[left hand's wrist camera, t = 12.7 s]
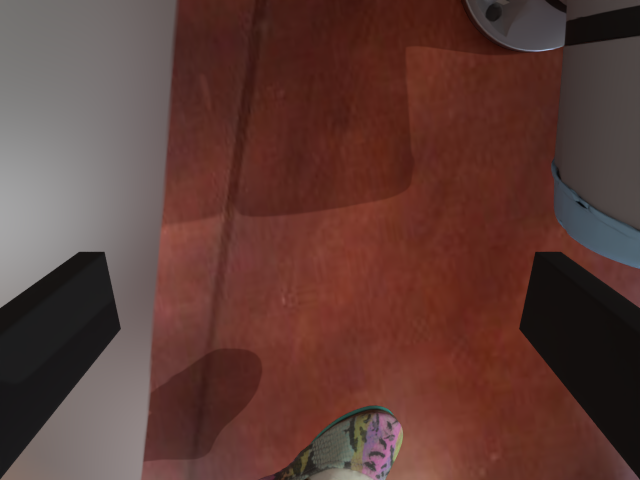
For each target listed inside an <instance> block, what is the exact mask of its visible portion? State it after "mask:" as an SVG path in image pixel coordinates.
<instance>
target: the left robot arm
mask: <svg viewBox="0 0 640 480" xmlns="http://www.w3.org/2000/svg"><path fill="white" fill-rule="evenodd" d="M461 1H462V4H463V6H464V9H465V11H466V13H467V15H468V17H469V19H470V20H471V22H472V23H473V24H474V26H475V27H476V28H477V29H478V31H479V32H480V33H481V34H483V35H484V36H485V37H486V38H487V39H489V40H490V41H491V42H493V43H495V44H497V45H499V46H501V47H503V48H506V49H509V50H513V51H519V52H537V51H545V50H551V49H555V48H559V47H562V46H564V50H563V64H562V77H561V88H560V100H559V112H558V124H557V136H556V148H555V157H554V159H553V161H552V165H551V170H552V175H553V177H554V211H555V215H556V217H557V220H558V222H559V223H560V224H561V225H562V226H563V228H564V229H566V231H567V233H568V234H569V235H570V236H571V237H572V238H573V239H575V240H576V241H577V242H579V243H580V244H582V245H583V246H585V247H587V248H588V249H590V250H592V251H594V252H596V253H598V254H600V255H602V256H605V257H607V258H609V259H612V260H615V261H617V262H620V263H623V264H626V265H629V266H632V267H635V268H639V269H640V0H461ZM627 36H628V37H627ZM620 37H621V38H620ZM613 38H615V39H613ZM606 39H608V40H606ZM599 40H601V41H599ZM592 41H595V42H592ZM585 42H588V43H585ZM580 43H582V44H580ZM574 44H575V45H574ZM565 45H569V46H565ZM120 329H121V328H120V323H119V318H118V314H117V309H116V304H115V299H114V295H113V290H112V285H111V281H110V276H109V271H108V266H107V262H106V257H105V252H78V253H77V254H76V255H74V256H73V257H71V258H70V259H69V260H67V261H66V262H64V263H63V264H62V265H60V266H59V267H57V268H56V269H55V270H53V271H52V272H50V273H49V274H48V275H46V276H45V277H43V278H42V279H41V280H39V281H38V282H36V283H35V284H34V285H32V286H31V287H29V288H28V289H27V290H25V291H24V292H22V293H21V294H20V295H18V296H17V297H15V298H14V299H13V300H11V301H10V302H8V303H7V304H6V305H4V306H3V307H1V308H0V479H1V478H2V476H3V475H4V474H5V473H6V471H7V470H8V469H9V468H10V466H11V465H12V464H13V463H14V461H15V460H16V459H17V458H18V456H19V455H20V454H21V453H22V451H23V450H24V449H25V448H26V446H27V445H28V444H29V443H30V441H31V440H32V439H33V438H34V436H35V435H36V434H37V433H38V431H39V430H40V429H41V428H42V427H43V425H44V424H45V423H46V421H47V420H48V419H49V418H50V417H51V415H52V414H53V413H54V412H55V410H56V409H57V408H58V406H59V405H60V404H61V403H62V402H63V400H64V399H65V398H66V397H67V395H68V394H69V393H70V391H71V390H72V389H73V388H74V387H75V385H76V384H77V383H78V382H79V380H80V379H81V378H82V377H83V375H84V374H85V373H86V372H87V370H88V369H89V368H90V367H91V365H92V364H93V363H94V362H95V360H96V359H97V358H98V357H99V355H100V354H101V353H102V352H103V350H104V349H105V348H106V347H107V345H108V344H109V343H110V342H111V340H112V339H113V338H114V337H115V335H116V334H117V333H118V332H119V330H120ZM519 329H520V330H521V332H522V333H523V334H524V335H525V337H526V338H527V339H528V340H529V342H530V343H531V344H532V345H533V347H534V348H535V349H536V350H537V352H538V353H539V354H540V355H541V357H542V358H543V359H544V360H545V362H546V363H547V364H548V365H549V367H550V368H551V369H552V370H553V372H554V373H555V374H556V375H557V377H558V378H559V379H560V380H561V382H562V383H563V384H564V385H565V387H566V388H567V389H568V390H569V392H570V393H571V394H572V395H573V397H574V398H575V399H576V400H577V402H578V403H579V404H580V405H581V407H582V408H583V409H584V410H585V412H586V413H587V414H588V415H589V417H590V418H591V419H592V420H593V422H594V423H595V424H596V425H597V427H598V428H599V429H600V430H601V431H602V433H603V434H604V435H605V436H606V438H607V439H608V440H609V441H610V443H611V444H612V445H613V446H614V448H615V449H616V450H617V451H618V453H619V454H620V455H621V456H622V458H623V459H624V460H625V461H626V463H627V464H628V465H629V466H630V468H631V469H632V470H633V471H634V473H635V474H636V475H637V476H638V478H639V479H640V308H639V307H637V306H636V305H635V304H633V303H632V302H630V301H629V300H627V299H626V298H625V297H623V296H622V295H620V294H619V293H618V292H616V291H615V290H613V289H612V288H611V287H609V286H608V285H606V284H605V283H604V282H602V281H601V280H599V279H598V278H597V277H595V276H594V275H592V274H591V273H590V272H588V271H587V270H585V269H584V268H583V267H581V266H580V265H578V264H577V263H576V262H574V261H573V260H571V259H570V258H569V257H567V256H566V255H564V254H563V253H562V252H535V257H534V262H533V266H532V271H531V276H530V280H529V285H528V290H527V295H526V299H525V304H524V309H523V313H522V318H521V323H520V328H519Z"/></svg>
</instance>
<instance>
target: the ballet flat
mask: <svg viewBox="0 0 640 480" xmlns="http://www.w3.org/2000/svg"><path fill="white" fill-rule="evenodd" d="M402 438H403V430H402V427H401V425H400V423H399V422H398V420H397V419H396V418H395V416H394V415H393V414H392V412H391V411H390V410H388V409H386V408H384V407H381V406H367V407H363V408H360V409H357V410H354V411H352V412H349V413H347V414H345V415H344V416H342V417H340V418H338V419H337V420H335V421H334V422H332V423H331V424H330V425H328V426H327V427H326V428H325V429H324V430H323V431H321V432H320V433H319V434H318V436H317V437H316V438H315V439H314V440H313V441H312V442H311V444H310V445H309V446H307V447H306V448H305V449H304V450H302V451H301V452H300V453H299V455H298V456H297V457H296V458H295V459H294V461H293V462H292V463H290V464H289V465H288V466H287V467H286V468H284V469H282V470H281V471H280V472H277V473H275V474H273V475H270V476H266V477H263V478H261V479H259V480H385V479H386V477H387V475H388V473H389V471H390V469H391V467H392V465H393V463H394V461H395V459H396V456H397V454H398V452H399V449H400V447H401V443H402Z"/></svg>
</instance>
